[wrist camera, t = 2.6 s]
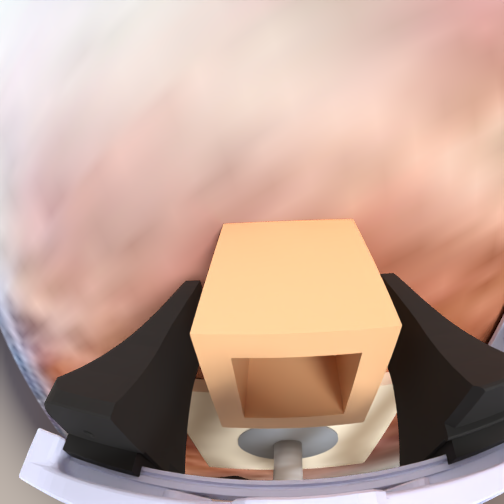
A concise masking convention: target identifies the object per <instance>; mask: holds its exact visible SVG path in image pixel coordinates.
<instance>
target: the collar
mask: <svg viewBox="0 0 504 504" xmlns="http://www.w3.org/2000/svg"><path fill="white" fill-rule="evenodd" d="M401 327H402V324H401V321H400V319H399V317H398V314H397V312H396V309H395V307H394V305H393V302H392V300H391V298H390V295H389V293H388V291H387V289H386V286H385V284H384V282H383V280H382V278H381V275H380V273H379V271H378V269H377V267H376V265H375V263H374V260H373V258H372V256H371V254H370V252H369V250H368V248H367V246H366V244H365V242H364V240H363V238H362V236H361V234H360V232H359V230H358V228H357V226H356V224H355V222H354V220H353V219H330V220H298V221H272V222H250V223H229V224H223V227H222V230H221V233H220V236H219V239H218V243H217V246H216V249H215V252H214V255H213V258H212V262H211V265H210V268H209V271H208V274H207V278H206V281H205V284H204V288H203V291H202V294H201V297H200V301H199V304H198V307H197V311H196V314H195V318H194V321H193V324H192V328H191V331H190V336H191V339H192V342H193V346H194V349H195V352H196V355H197V358H198V361H199V364H200V367H201V370H202V373H203V376H204V379H205V382H206V384H207V387H208V390H209V393H210V396H211V399H212V401H213V404H214V407H215V409H216V412H217V415H218V417H219V420H220V423H221V425H222V427H226V428H257V429H276V428H306V427H322V426H334V425H344V424H353V423H361V422H364V420H365V418H366V416H367V414H368V412H369V410H370V407H371V405H372V403H373V401H374V398H375V396H376V394H377V391H378V389H379V387H380V384H381V382H382V379H383V377H384V374H385V372H386V369H387V367H388V364H389V361H390V359H391V356H392V353H393V350H394V348H395V345H396V342H397V339H398V336H399V333H400V330H401Z"/></svg>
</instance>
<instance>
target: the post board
mask: <svg viewBox="0 0 504 504" xmlns="http://www.w3.org/2000/svg"><path fill="white" fill-rule="evenodd" d="M396 413H397V410H396V402H395V396H394V390H393V385H392V381H391V377H390V373H389V372H385V374H384V377H383V379H382V382H381V384H380V387H379V389H378V391H377V394H376V396H375V398H374V401H373V403H372V405H371V407H370V410H369V412H368V414H367V416H366V418H365V420H364V422H361V423H353V424H344V425H334V426H322V427H306V428H276V429H257V428H226V427H222V425H221V423H220V420H219V417H218V415H217V412H216V409H215V407H214V404H213V401H212V399H211V396H210V393H209V390H208V387H207V384H206V382H205V379H195V382H194V386H193V390H192V396H191V403H190V411H189V419H188V428H187V433H188V435H189V436H190V438H191V440H192V441H193V443H194V444H195V446H196V447H197V449H198V450H199V452H200V454H201V455H202V457H203V458H204V460H205V461H206V462H207V464H208V465H209V467H218V468H232V469H255V470H274V472H273V480H303V470H302V469H310V468H324V467H335V466H344V465H352V464H359V463H364V462H365V460H366V459H367V457H368V456H369V455H370V453H371V452H372V450H373V449H374V447H375V446H376V444H377V443H378V442H379V440H380V439H381V437H382V435H383V434H384V432H385V431H386V429H387V428H388V426H389V424H390V423H391V421H392V420H393V418H394V416H395V415H396Z"/></svg>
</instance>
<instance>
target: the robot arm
mask: <svg viewBox="0 0 504 504" xmlns="http://www.w3.org/2000/svg"><path fill="white" fill-rule="evenodd" d="M380 275H381V278H382V280H383V282H384V284H385V286H386V289H387V291H388V293H389V295H390V298H391V300H392V302H393V305H394V307H395V309H396V312H397V314H398V317H399V319H400V321H401V324H402V327H401V330H400V333H399V336H398V339H397V342H396V345H395V348H394V350H393V353H392V356H391V359H390V361H389V364H388V370H389V373H390V377H391V381H392V385H393V390H394V396H395V402H396V410H397V418H398V429H399V445H400V467H396V468H391V469H386V470H381V471H375V472H369V473H363V474H356V475H349V476H341V477H331V478H320V479H305V480H238V479H224V478H212V477H203V476H195V475H187V474H185V454H186V440H187V428H188V419H189V411H190V403H191V396H192V390H193V386H194V382H195V378H196V374H197V371H198V367H199V361H198V358H197V355H196V352H195V349H194V346H193V342H192V339H191V336H190V331H191V328H192V324H193V321H194V318H195V314H196V311H197V307H198V304H199V301H200V297H201V294H202V286H201V282H200V281H185V282H184V283H183V285H182V286H181V287H180V288H179V289H178V290H177V291H176V292H175V293H174V294H173V295H172V296H171V297H170V299H169V300H168V301H167V302H166V303H165V304H164V305H163V306H162V307H161V308H160V309H159V310H158V311H157V312H156V313H155V314H154V315H153V316H152V317H151V318H150V319H149V320H148V321H147V322H146V323H145V324H144V325H143V326H142V327H140V328H139V329H138V330H137V331H136V332H135V333H133V334H132V335H131V336H130V337H128V338H127V339H126V340H125V341H123V342H122V343H121V344H119V345H118V346H116V347H115V348H113V349H112V350H110V351H109V352H107V353H106V354H104V355H103V356H101V357H99V358H97V359H96V360H94V361H92V362H90V363H88V364H87V365H85V366H83V367H81V368H79V369H76V370H74V371H72V372H70V373H67V374H65V375H63V376H60V377H58V378H57V379H56V381H55V383H54V385H53V387H52V389H51V391H50V393H49V395H48V397H47V399H46V401H45V403H44V405H45V409H46V411H47V412H48V414H49V415H50V416H51V417H52V418H53V419H54V420H55V421H56V422H57V423H58V424H59V425H60V426H61V427H62V428H63V429H64V430H65V431H66V432H67V433H68V436H67V439H64V438H63V437H61V436H58V435H56V434H54V433H51V432H49V431H46V430H43V429H41V428H39V429H38V431H37V433H36V435H35V438H34V440H33V442H32V444H31V447H30V449H29V451H28V454H27V456H26V459H25V461H24V464H23V467H22V469H21V472H20V474H19V477H20V479H22V480H24V481H25V482H27V483H29V484H30V485H32V486H34V487H35V488H37V489H39V490H41V491H43V492H44V493H46V494H48V495H50V496H51V497H53V498H55V499H57V500H59V501H61V502H64V503H66V504H482V503H484V502H486V501H488V500H490V499H492V498H494V497H496V496H498V495H500V494H502V493H503V492H504V315H503V317H502V319H501V321H500V323H499V325H498V327H497V328H496V330H495V332H494V334H493V336H492V338H491V340H490V341H489V343H488V345H487V344H485V343H484V342H482V341H480V340H478V339H476V338H475V337H473V336H471V335H469V334H468V333H466V332H465V331H463V330H462V329H460V328H459V327H457V326H456V325H454V324H453V323H452V322H450V321H449V320H447V319H446V318H445V317H443V316H442V315H441V314H440V313H439V312H437V311H436V310H435V309H434V308H432V307H431V306H430V305H429V304H428V303H427V302H425V301H424V300H423V299H422V298H421V297H420V296H419V295H418V294H416V293H415V292H414V291H413V290H412V289H411V288H410V287H409V286H408V285H407V284H405V283H404V282H403V281H402V280H401V279H400V278H399V277H398V276H396V275H395V274H394V273H389V274H380ZM211 499H219V500H230V501H233V502H217V501H212V500H211Z"/></svg>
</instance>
